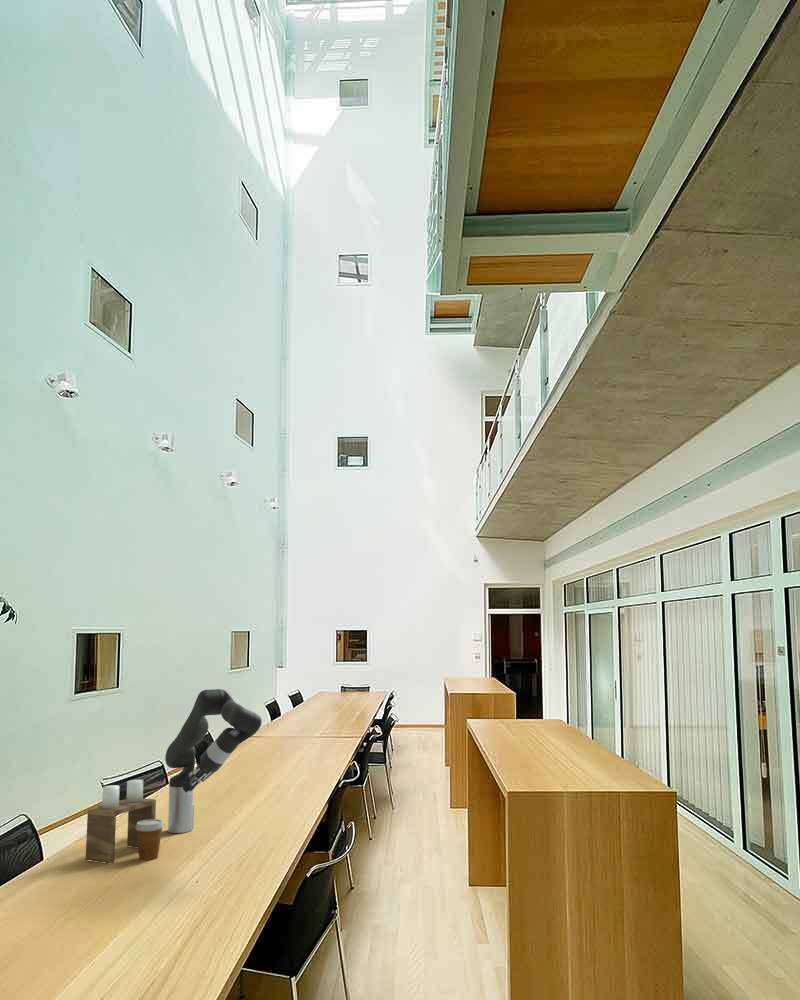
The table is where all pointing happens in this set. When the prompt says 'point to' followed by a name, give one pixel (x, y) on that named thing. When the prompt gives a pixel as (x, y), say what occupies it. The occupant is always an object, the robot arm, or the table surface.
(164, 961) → the table surface
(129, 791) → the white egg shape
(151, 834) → the disposable coffee cup
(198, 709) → the robot arm
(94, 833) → the wooden bench stand
